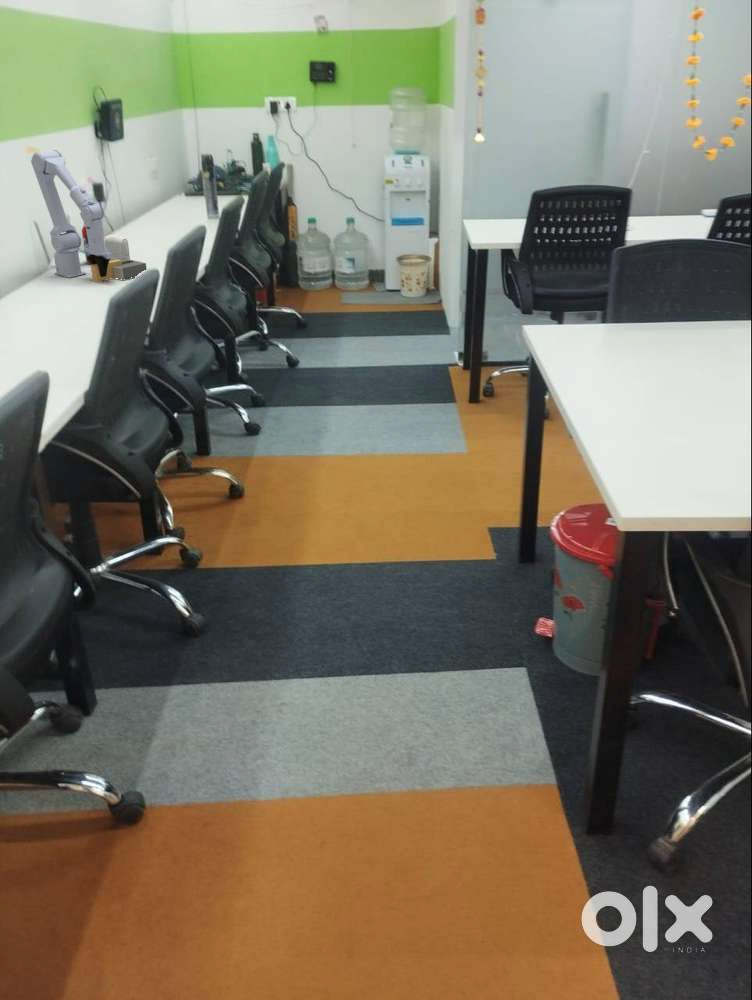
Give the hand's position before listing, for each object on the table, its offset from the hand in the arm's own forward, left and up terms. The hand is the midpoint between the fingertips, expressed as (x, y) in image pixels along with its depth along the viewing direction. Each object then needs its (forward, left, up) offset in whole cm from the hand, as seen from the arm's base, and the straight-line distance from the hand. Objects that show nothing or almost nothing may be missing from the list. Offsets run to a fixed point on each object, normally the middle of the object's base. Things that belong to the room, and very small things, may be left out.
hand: (101, 275), depth 317 cm
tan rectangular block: (0, +3, -2) cm, 3 cm away
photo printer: (-13, +18, -2) cm, 22 cm away
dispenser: (0, +10, -2) cm, 11 cm away
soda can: (-25, +16, -2) cm, 30 cm away
